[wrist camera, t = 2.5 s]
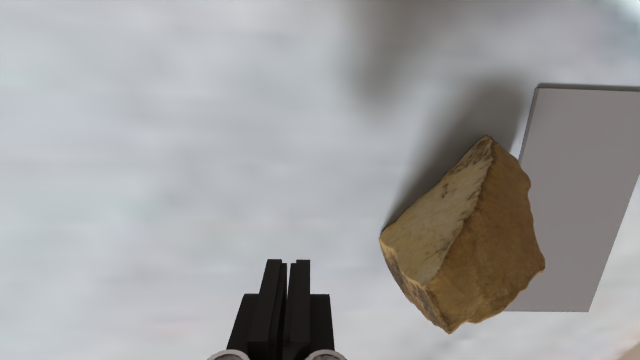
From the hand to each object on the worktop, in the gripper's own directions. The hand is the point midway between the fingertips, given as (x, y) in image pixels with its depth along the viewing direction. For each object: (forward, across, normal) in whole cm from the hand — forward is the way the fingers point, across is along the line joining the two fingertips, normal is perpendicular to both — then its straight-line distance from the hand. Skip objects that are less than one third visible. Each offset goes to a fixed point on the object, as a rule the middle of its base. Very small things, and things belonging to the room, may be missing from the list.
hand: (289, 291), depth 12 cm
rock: (+9, -10, 0) cm, 13 cm away
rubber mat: (+8, -18, 0) cm, 20 cm away
